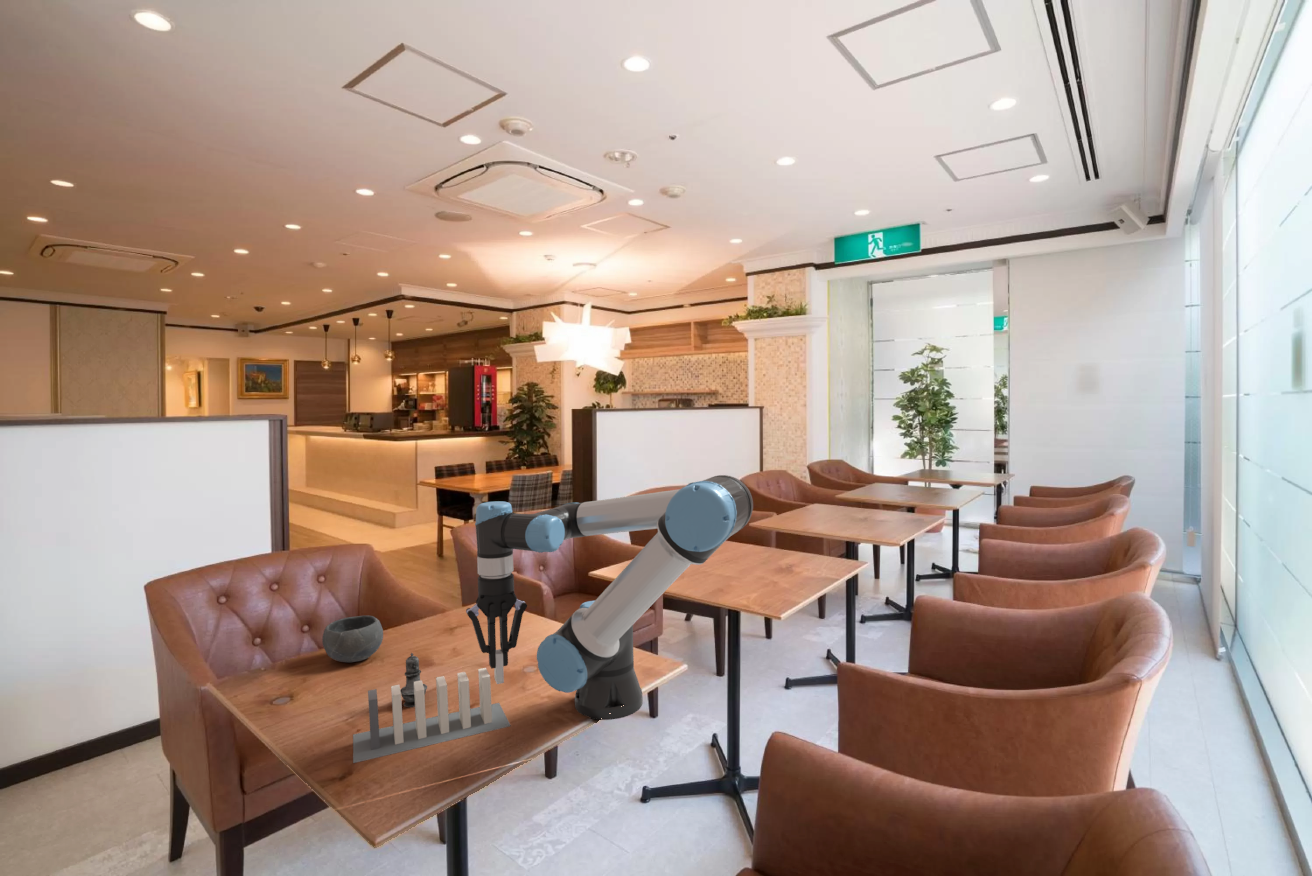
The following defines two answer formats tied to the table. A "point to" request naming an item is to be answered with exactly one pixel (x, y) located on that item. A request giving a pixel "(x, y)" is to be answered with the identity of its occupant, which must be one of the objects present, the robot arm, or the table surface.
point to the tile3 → (442, 704)
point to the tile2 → (464, 700)
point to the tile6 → (373, 719)
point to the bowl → (352, 638)
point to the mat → (432, 732)
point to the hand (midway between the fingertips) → (499, 681)
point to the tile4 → (420, 709)
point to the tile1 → (485, 695)
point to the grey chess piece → (411, 680)
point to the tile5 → (397, 714)
